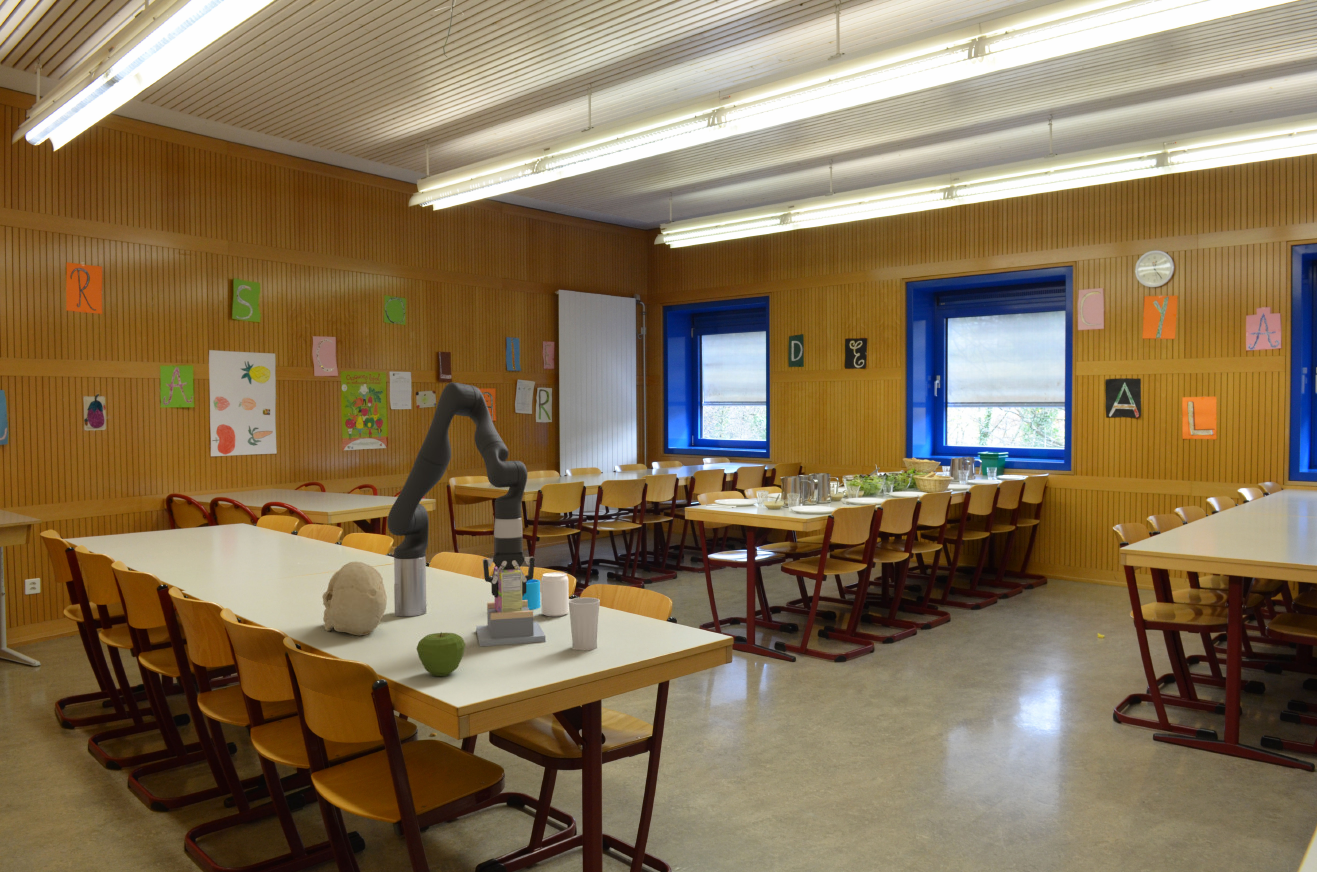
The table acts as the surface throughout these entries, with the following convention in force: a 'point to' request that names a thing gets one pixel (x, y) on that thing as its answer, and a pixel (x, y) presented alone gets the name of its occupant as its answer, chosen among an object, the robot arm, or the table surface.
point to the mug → (532, 594)
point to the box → (509, 591)
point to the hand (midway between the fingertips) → (509, 595)
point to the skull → (354, 599)
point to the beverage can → (554, 594)
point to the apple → (441, 652)
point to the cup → (584, 622)
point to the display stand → (509, 627)
